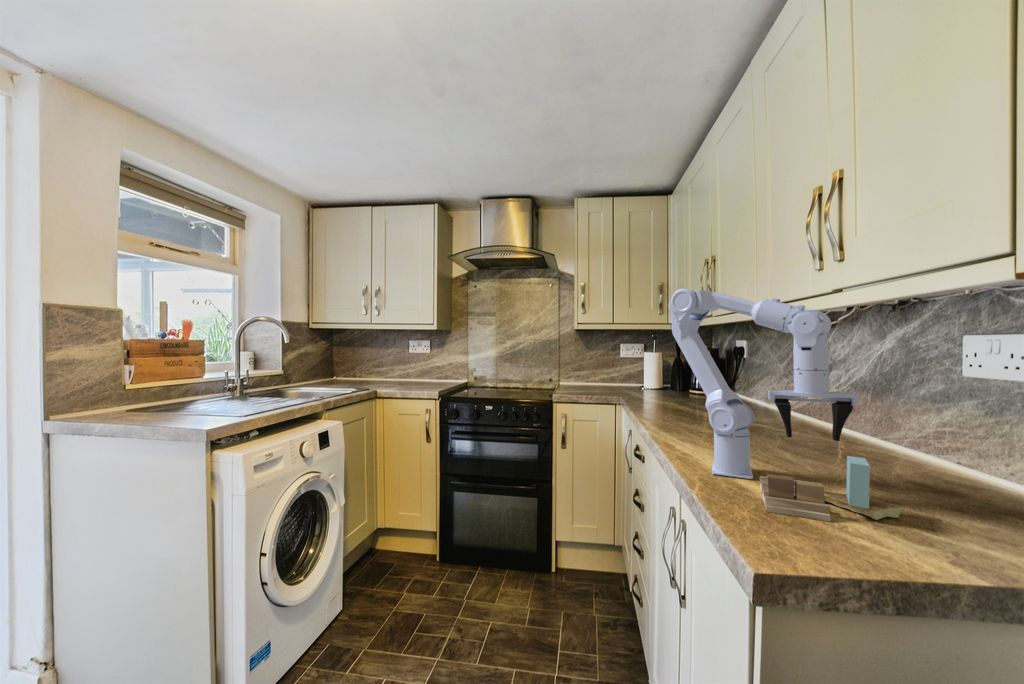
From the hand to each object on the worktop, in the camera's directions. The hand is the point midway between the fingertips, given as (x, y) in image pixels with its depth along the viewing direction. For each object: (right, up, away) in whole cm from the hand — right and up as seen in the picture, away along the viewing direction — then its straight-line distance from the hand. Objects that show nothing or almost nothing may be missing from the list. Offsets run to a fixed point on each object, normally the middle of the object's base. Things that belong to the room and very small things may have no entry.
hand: (812, 438), depth 82 cm
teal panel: (0, -8, -11) cm, 14 cm away
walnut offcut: (-12, -9, -9) cm, 18 cm away
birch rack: (-8, -10, -6) cm, 14 cm away
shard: (0, -10, -10) cm, 15 cm away
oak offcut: (-8, -9, -11) cm, 17 cm away
